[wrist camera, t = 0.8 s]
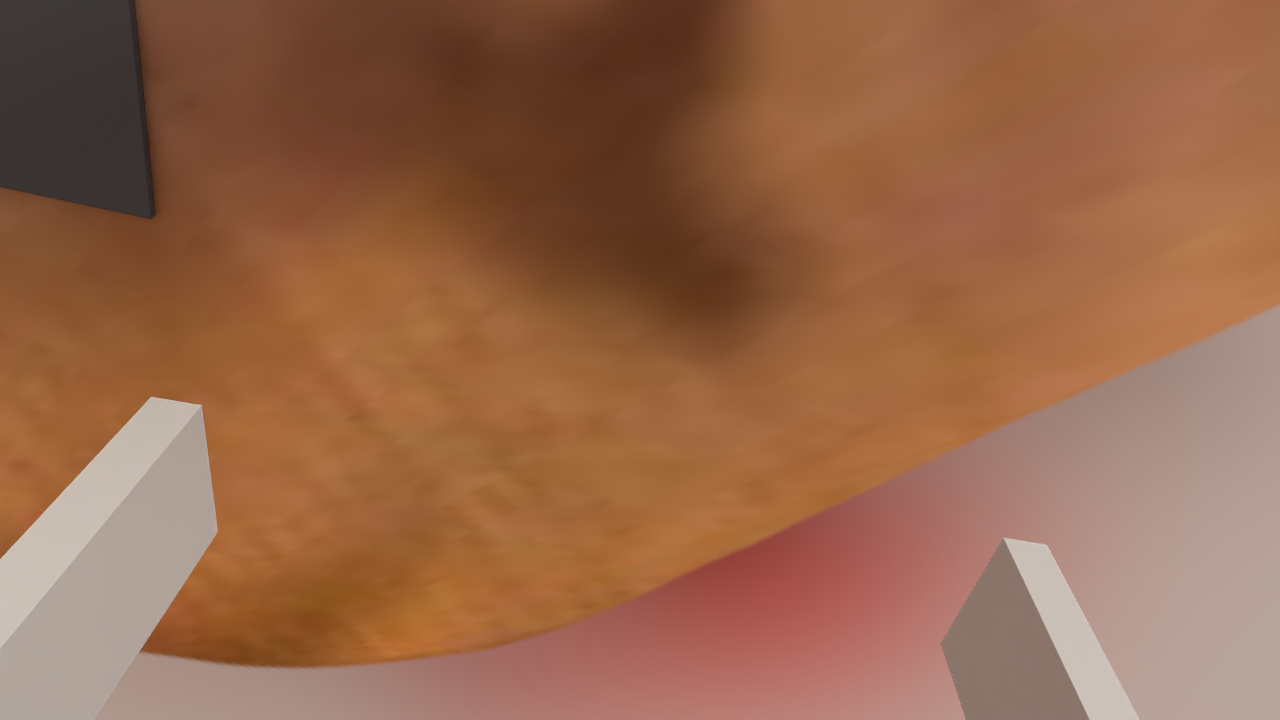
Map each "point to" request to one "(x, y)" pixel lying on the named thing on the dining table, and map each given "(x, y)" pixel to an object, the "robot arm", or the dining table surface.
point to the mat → (74, 104)
